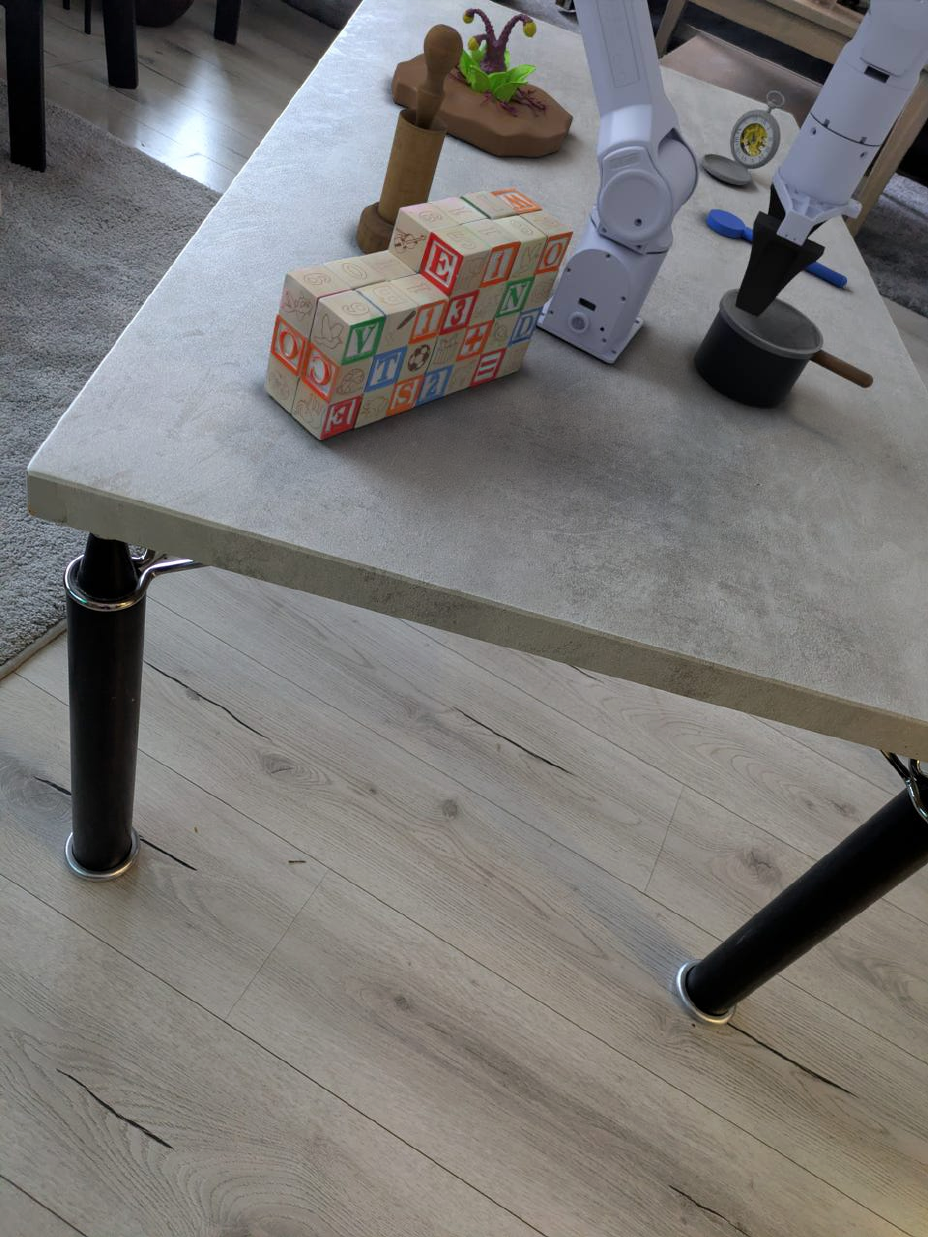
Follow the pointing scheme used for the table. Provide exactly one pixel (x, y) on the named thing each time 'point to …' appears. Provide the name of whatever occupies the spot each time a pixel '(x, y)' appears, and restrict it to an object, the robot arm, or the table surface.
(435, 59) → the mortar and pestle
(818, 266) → the spoon
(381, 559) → the table surface
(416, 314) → the stack of blocks
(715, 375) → the pot
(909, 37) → the robot arm
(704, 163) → the pocket watch
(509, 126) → the plant
